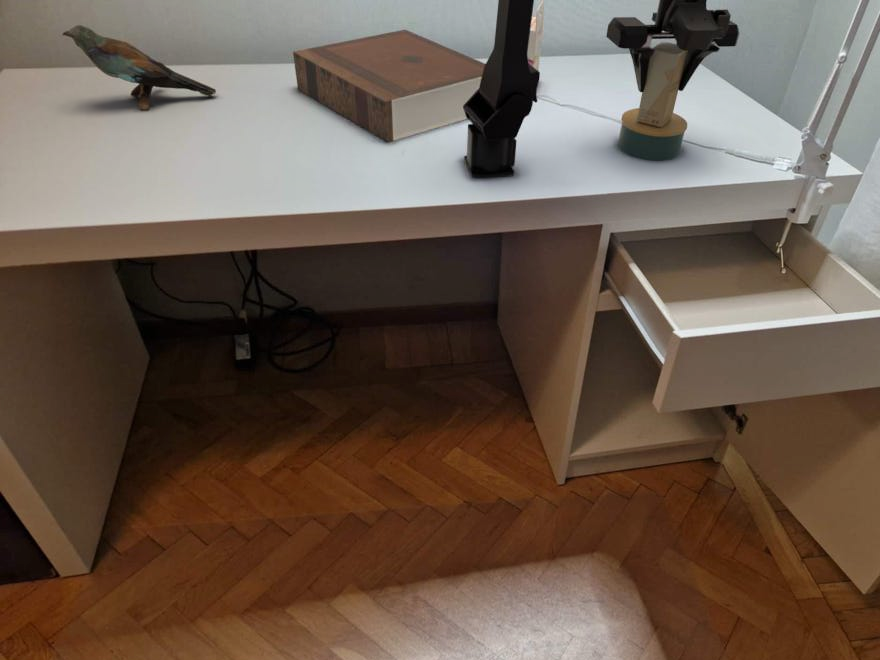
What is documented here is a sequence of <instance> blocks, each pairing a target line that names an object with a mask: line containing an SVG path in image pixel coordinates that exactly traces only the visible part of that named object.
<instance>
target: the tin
mask: <svg viewBox="0 0 880 660" xmlns="http://www.w3.org/2000/svg"><path fill="white" fill-rule="evenodd" d="M638 111H639V107H637V108H632V109H628V110H626V111H624V112H623V113H622V115H621V120H620V121H621V126H620V132H619V136H618V142H617V145H618V148H619V149H620V150H621V151H622V152H624V153H625V154H627V155H628V156H631V157H634V158H637V159H641V160H647V161H667V160H671V159H675V158H676V157H677V156H678V155H679V154H680V152H681V149H682V144H683V139H684V135H685V132H686V131H687V129H688V122H687V120H686V119H685V118H683V117H682V116H681V115H679V114H677V113H674V112H673V114H672V118H671V119H670V120H669V121H668V122H667V123H666V124H665V125H663V126H662V127H658V126H654V125H650V124H646V123H642V122H639V121H637V116H638Z"/></svg>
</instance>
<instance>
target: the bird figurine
mask: <svg viewBox="0 0 880 660" xmlns="http://www.w3.org/2000/svg"><path fill="white" fill-rule="evenodd" d="M62 36H64V37H65V36H66V37H68V38H71V39H72V40H73V41H74V43H75V45H76V46H77V47H79V49H81V51H82V52H83V53H84V54H85V55H86V56H87V58H89V60H90V61H91V62H92V64H94V66H95V67H96V68H97V69H98V70H99V71H100V72H101V73H103V74H105V75H107V76H108V77H111V78H117V79H121V80H123V81H125V82H129V83H133V84H138V85H136V86H135V87H134V88H133V89H132V90H131V92H130V96H131V97H133V98H135V99H138V102H139V104H138V106H139V108H140V109H141V110H143V111H147V110H148V109H149V107H150V103H151V97H152V91H153V88H154V87H155V88H161V89H162V88H163V89H177V90H178V89H179V90H183V89H184V90H188V91H193V92H198V93H200V94H201V95H203V96H207V97H209V98H211V97H213V95H215V94H216V90H217V89H215V88H213V87H211V86H210V85H209V86H208V85H206V84H204V83H202V82H199V81H197V80H195V79H192V78H190V77H188V76H186V75H184V74H183V75H182V74H181V73H178V72H176V71H174V70H173V69H171V68H169V67H167V66H166V65H165V64H164V63H163V62H160V61H157V60H155V59H153V58H152V57H150V56H149V55H148V54H146V53H144V52H143V51H141V50H140V49H138V48H137V47H136V46H135V45H132V44H130V43H129V42H126V41H124V40H119V39H114V38H111V37H107V36H102V35H99V34H97V33H96V32H95V31H94V30H93V29H91V28H90V27H87V26H84V25H82V24H77V25H74V26H73V27H71V28H70V29H68V30H65V31H64V32H63V33H62Z"/></svg>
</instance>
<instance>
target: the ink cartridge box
mask: <svg viewBox="0 0 880 660" xmlns="http://www.w3.org/2000/svg"><path fill="white" fill-rule="evenodd" d="M544 6H545V1H544V0H542V1H541V3H540V4H539V6H538V7H537V9H536V11H535V16H532V21H531V28H530V36H529V44H528V52H527V57H528V62H529V64H530V65H531V66H533V67H534V68H535V69H536V70H538V71H539V68H540V59H541V58H540V57H541V48H542V37H543V28H544V18H545V17H544V16H545V15H544V12H545V11H544V8H545V7H544Z"/></svg>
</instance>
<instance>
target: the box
mask: <svg viewBox="0 0 880 660" xmlns="http://www.w3.org/2000/svg"><path fill="white" fill-rule="evenodd" d="M651 48H652V49H653V50H655V52H654V53H653V55H652V56H651V58H650V60H649V66H648V72H647V79H646V84H645V88H644V91H643V92H641V97H640V101H639V107H638V108H639V111H638V116H637V121H639V122H642V123H646V124H650V125H654V126H658V127H662V126H663V125H665V124H666V123H667V122H668V121H669V120H670V119H671V118H672V114H673V113H674V110H675V106H676V102H677V98H678V93H679V90H678V89H679V85H680V81H681V77H682V73H683V68H684V64H685V60H686V56H687V52H688V50H687V51H685V50H681V49H680V48H679V47H678V46H677V43H672V42H668V41H661V42H660V43H658V44H656V45H655V46H653V47H651Z"/></svg>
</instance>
